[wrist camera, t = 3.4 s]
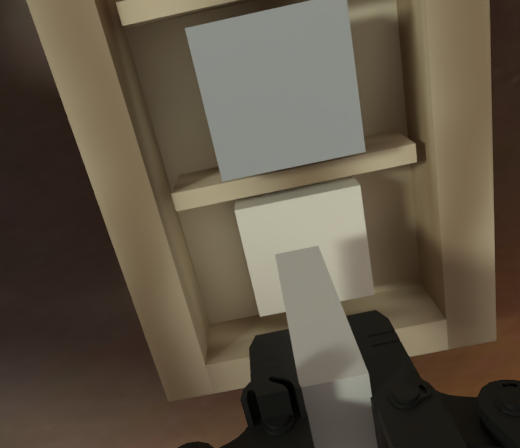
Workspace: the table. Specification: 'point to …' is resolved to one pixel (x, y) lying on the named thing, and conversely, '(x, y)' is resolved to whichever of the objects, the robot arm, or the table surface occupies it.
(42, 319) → the table surface
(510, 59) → the table surface
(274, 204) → the key ivory
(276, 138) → the key slate
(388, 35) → the wooden compartment tray
